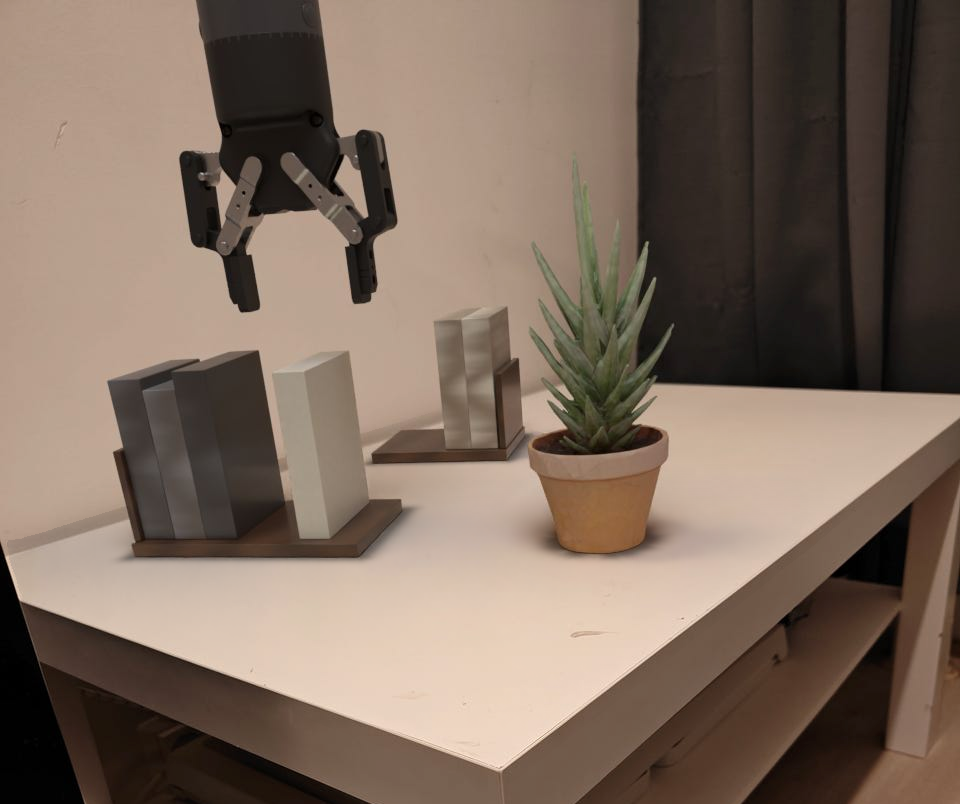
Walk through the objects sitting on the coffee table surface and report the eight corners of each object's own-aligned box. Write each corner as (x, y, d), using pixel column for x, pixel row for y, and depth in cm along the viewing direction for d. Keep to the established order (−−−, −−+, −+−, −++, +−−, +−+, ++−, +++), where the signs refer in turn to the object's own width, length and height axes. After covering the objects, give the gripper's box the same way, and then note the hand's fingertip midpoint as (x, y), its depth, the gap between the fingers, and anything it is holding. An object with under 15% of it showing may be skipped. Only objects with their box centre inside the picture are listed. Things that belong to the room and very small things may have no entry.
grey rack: (134, 556, 71) (89, 377, 66) (202, 512, 81) (169, 353, 75) (358, 557, 67) (331, 365, 62) (402, 510, 77) (382, 341, 71)
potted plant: (565, 514, 72) (550, 157, 62) (685, 523, 68) (690, 142, 58) (507, 557, 65) (480, 157, 54) (639, 571, 60) (636, 140, 50)
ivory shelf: (372, 463, 92) (354, 325, 87) (401, 439, 101) (387, 312, 96) (506, 460, 89) (497, 317, 84) (525, 435, 98) (517, 304, 92)
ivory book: (299, 539, 69) (271, 372, 64) (342, 503, 77) (319, 351, 72) (330, 539, 68) (303, 371, 63) (369, 502, 76) (349, 350, 71)
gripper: (388, 30, 61) (416, 295, 67) (191, 58, 64) (237, 307, 71) (349, 12, 54) (384, 307, 61) (131, 44, 57) (188, 320, 64)
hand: (305, 307), depth 66 cm, fingers open, 8 cm apart
